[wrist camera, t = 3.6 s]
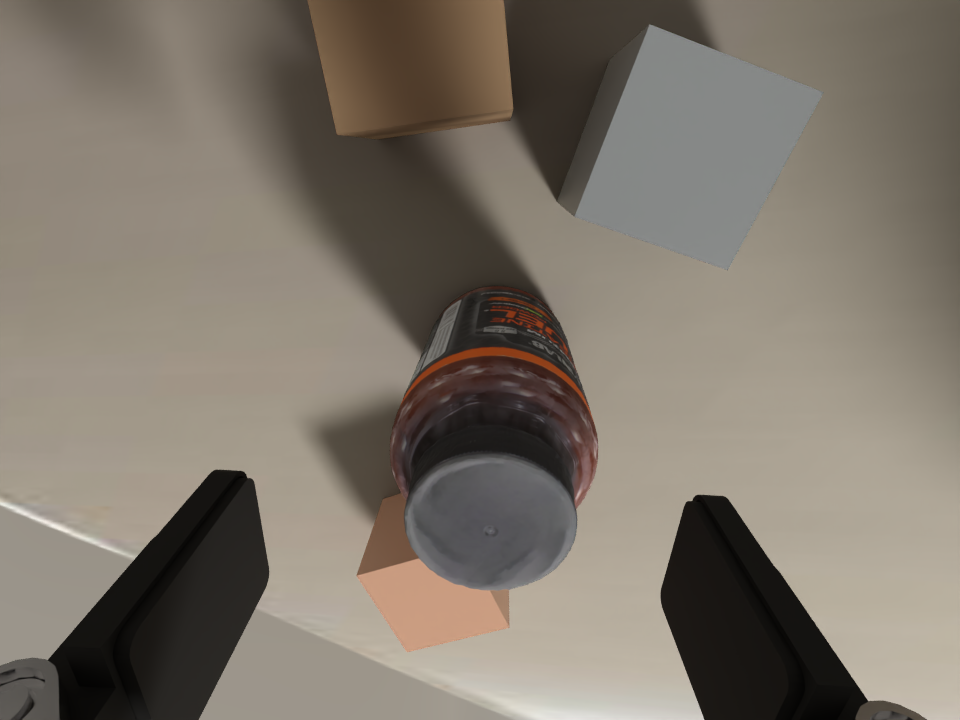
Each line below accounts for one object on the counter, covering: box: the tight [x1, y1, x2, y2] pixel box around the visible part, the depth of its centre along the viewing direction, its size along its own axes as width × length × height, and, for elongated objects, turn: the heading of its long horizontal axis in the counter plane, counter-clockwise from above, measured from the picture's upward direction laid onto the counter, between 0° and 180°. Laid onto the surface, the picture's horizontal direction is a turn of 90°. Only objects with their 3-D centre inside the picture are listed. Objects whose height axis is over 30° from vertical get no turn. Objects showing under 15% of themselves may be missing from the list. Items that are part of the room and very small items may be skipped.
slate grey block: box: [557, 24, 824, 270], centre depth 16 cm, size 5×5×5 cm
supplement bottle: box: [390, 286, 598, 591], centre depth 16 cm, size 6×6×11 cm
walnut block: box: [307, 0, 513, 139], centre depth 15 cm, size 5×5×5 cm
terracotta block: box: [357, 493, 509, 652], centre depth 23 cm, size 5×5×5 cm
